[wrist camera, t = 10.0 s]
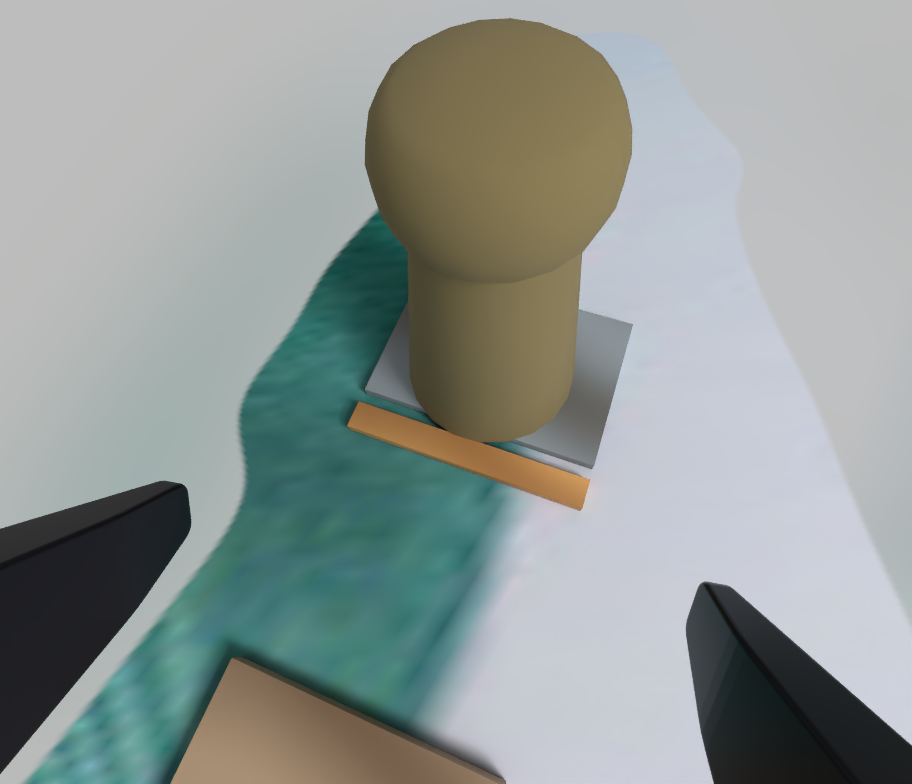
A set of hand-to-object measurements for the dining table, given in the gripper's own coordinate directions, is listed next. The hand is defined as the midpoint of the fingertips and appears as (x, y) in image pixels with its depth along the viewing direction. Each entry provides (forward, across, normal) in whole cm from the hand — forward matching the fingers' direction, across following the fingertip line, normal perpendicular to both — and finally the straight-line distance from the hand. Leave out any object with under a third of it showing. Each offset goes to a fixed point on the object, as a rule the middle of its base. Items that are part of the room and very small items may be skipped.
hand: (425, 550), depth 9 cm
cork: (+11, 0, 0) cm, 11 cm away
